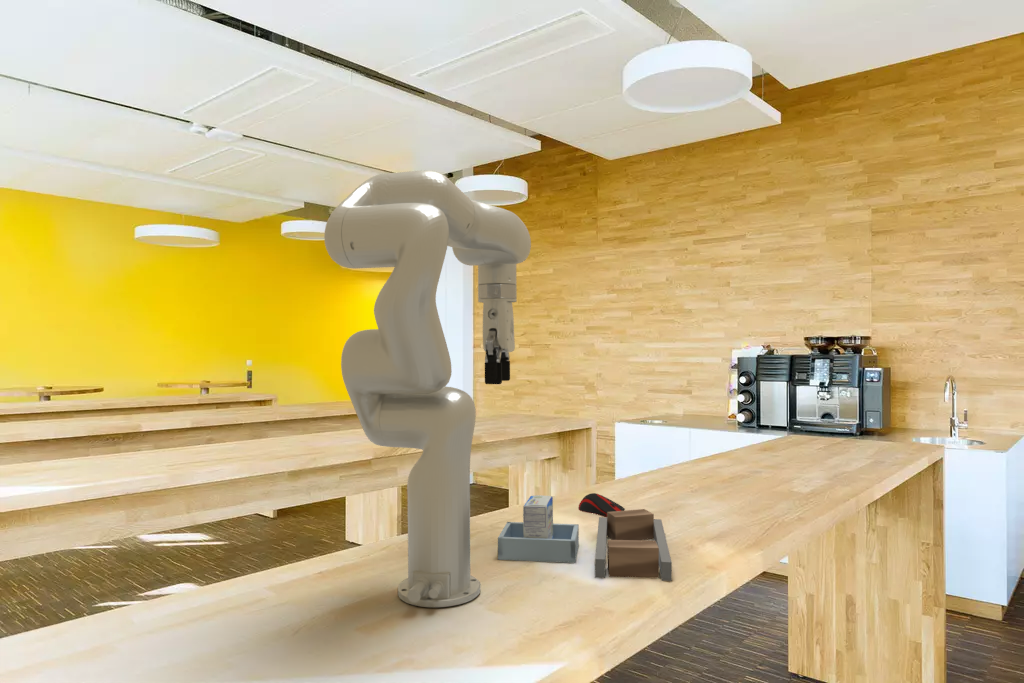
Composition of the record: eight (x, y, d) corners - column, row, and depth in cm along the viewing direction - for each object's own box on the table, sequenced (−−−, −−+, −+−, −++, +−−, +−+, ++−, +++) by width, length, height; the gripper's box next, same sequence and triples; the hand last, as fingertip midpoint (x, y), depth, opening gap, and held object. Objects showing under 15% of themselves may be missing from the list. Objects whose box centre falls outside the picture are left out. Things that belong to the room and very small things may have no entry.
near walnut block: (658, 578, 111) (658, 548, 111) (609, 577, 112) (609, 547, 112) (655, 570, 115) (655, 540, 115) (607, 569, 116) (607, 539, 116)
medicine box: (548, 554, 121) (547, 505, 121) (523, 553, 122) (522, 504, 121) (553, 541, 128) (553, 495, 128) (529, 540, 129) (529, 494, 129)
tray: (575, 562, 119) (575, 541, 119) (497, 559, 121) (497, 537, 121) (578, 544, 129) (578, 524, 129) (507, 541, 131) (507, 521, 131)
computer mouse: (610, 519, 148) (609, 501, 148) (573, 510, 156) (573, 492, 156) (628, 514, 152) (628, 496, 152) (591, 505, 160) (591, 488, 160)
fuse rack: (671, 581, 110) (671, 562, 110) (595, 577, 112) (594, 559, 112) (661, 534, 136) (661, 519, 136) (599, 532, 137) (599, 517, 137)
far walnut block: (653, 539, 133) (653, 513, 133) (615, 543, 130) (615, 517, 130) (644, 534, 136) (644, 509, 136) (607, 537, 134) (607, 511, 134)
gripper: (509, 291, 125) (509, 385, 125) (522, 296, 142) (522, 379, 142) (469, 292, 126) (469, 385, 126) (486, 297, 143) (487, 379, 143)
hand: (497, 382), depth 134 cm, fingers open, 9 cm apart
